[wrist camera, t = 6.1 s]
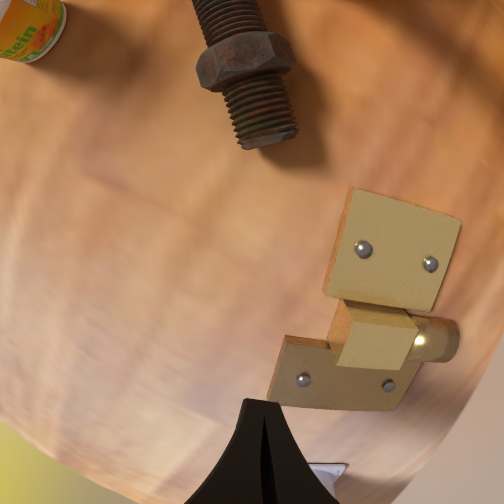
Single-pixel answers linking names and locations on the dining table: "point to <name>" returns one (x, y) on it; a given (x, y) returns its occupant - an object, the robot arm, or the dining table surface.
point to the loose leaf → (384, 276)
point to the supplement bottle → (30, 28)
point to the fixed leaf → (355, 371)
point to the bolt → (246, 70)
